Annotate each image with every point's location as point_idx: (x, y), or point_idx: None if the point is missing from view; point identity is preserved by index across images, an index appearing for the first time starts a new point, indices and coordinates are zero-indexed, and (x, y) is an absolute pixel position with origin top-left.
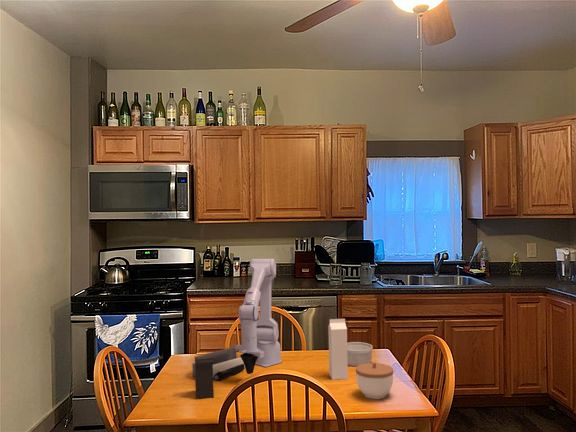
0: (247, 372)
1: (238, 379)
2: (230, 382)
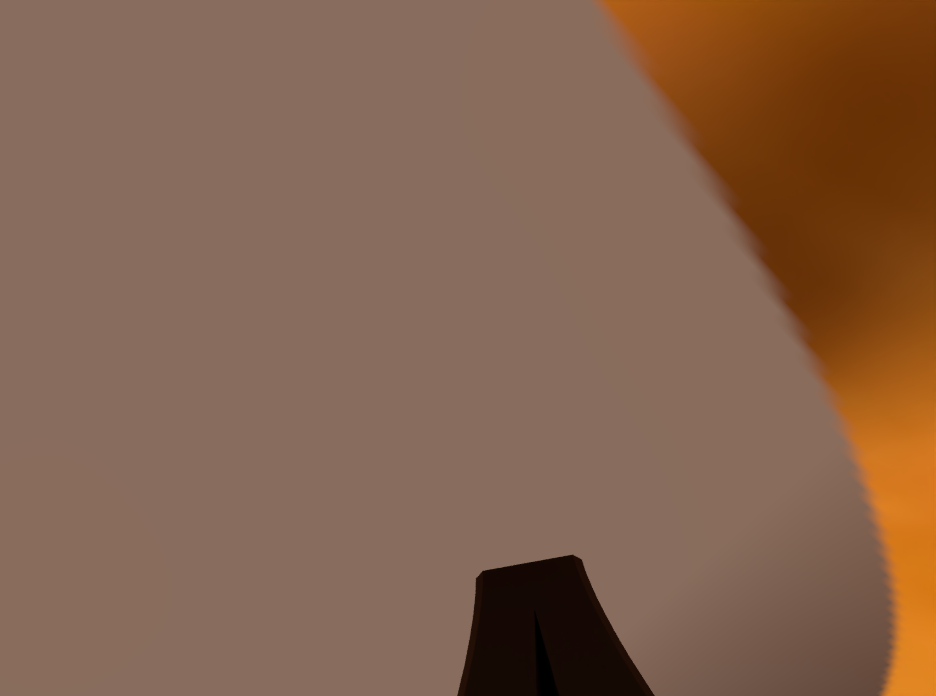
0: (528, 584)
1: (817, 332)
2: (795, 72)
